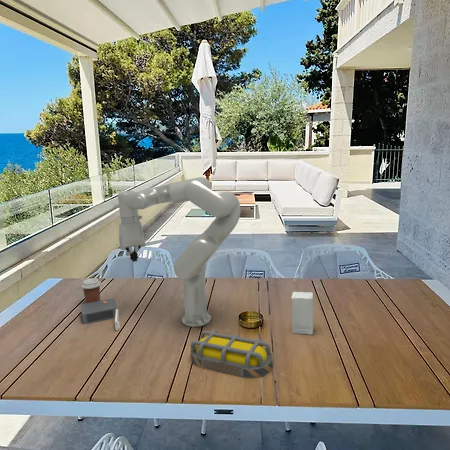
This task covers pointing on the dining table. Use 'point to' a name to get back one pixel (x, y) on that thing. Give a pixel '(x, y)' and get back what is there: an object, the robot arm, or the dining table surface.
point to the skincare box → (302, 312)
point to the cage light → (232, 354)
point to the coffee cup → (91, 290)
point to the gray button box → (98, 310)
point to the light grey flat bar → (117, 319)
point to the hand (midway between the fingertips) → (134, 260)
